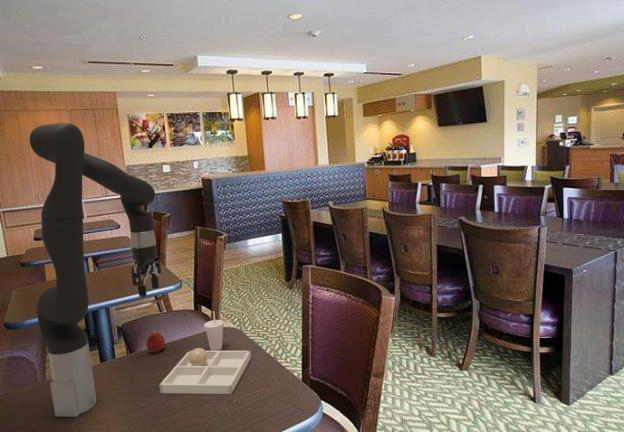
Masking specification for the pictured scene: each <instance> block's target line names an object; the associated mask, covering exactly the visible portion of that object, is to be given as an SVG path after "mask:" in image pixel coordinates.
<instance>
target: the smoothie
mask: <svg viewBox="0 0 624 432" xmlns="http://www.w3.org/2000/svg"><path fill="white" fill-rule="evenodd" d="M215 313H216V312H215V310H213V311H212V316H213V319H212V320H209V321H207V322H205V323H204V324H203V325H204V326H203V328H204V329H205V332H206V336H207V342H208V344H209V349H210V350H209V351H222V349H223V334H224V333H223V332H224V321H223V320H221V319H216V314H215Z"/></svg>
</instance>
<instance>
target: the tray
mask: <svg viewBox="0 0 624 432" xmlns="http://www.w3.org/2000/svg"><path fill="white" fill-rule="evenodd" d="M192 351H193V350H188V352H186V353H185V355H184V356H183V357H182V358H181V359H180V360H179V362H177V363H176V365H175V366H174V367H173V369H172V370H171V371H170V372H169V373H168V375H166V377H164V379H163V380H162V381H161V382H160V383H159V385H158V386H159V393H160V394H193V395H194V394H199V395H201V394H202V395H232V394H233V392H234V391H235V388H236V387H237V385H238V383H239V381H240V379H241V378H242V375H243V373H244V371H246V368H247V367H248V365H249V362H250V361H251V359H252V354H251V350H219V351H211V350H205V351H206V352H207V355H208V358H207V361H206V363H205V364H204V365H203V366H193V365H191V363H190V362H189V355H190V353H191V352H192Z"/></svg>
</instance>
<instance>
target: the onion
mask: <svg viewBox="0 0 624 432" xmlns="http://www.w3.org/2000/svg"><path fill="white" fill-rule="evenodd" d="M165 342H166V341H165V338H164V336H163V335H162V334H161V333H158V331H157V330H153V331H152V332H151V334H150V335H149V336H148V338H147V339H146V342H145V344H146V348H147V350H148V351H149V352H150V353H151V352H152V353H159V352H160V351H161V350H163V348H164V346H165V344H166V343H165Z"/></svg>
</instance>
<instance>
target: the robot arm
mask: <svg viewBox="0 0 624 432" xmlns="http://www.w3.org/2000/svg"><path fill="white" fill-rule="evenodd" d="M29 144H30V148H31V149H32V151H33V152H34V153H35V154H36V155H37V156H38V157H40V158H41V159H43V160H45V161H47V162H51V163H54V168H55V171H54V181H53V182H52V183H53V184H52V187H51V189H50V191H49V192H48V195H47V196H46V198H45V201H44V203H43V206H42V209H41V213H40V214H41V217H40V218H41V220H40V221H41V236H42V237H41V238H42V241H43V245H44V248H45V250H46V253H47V254H48V256H49V258H50V260H51V262H52V265H53V267H54V271H55V280H56V281H55V283H56V286H51V287H49V288H47V289H45V290H43V292H42V293H41V294H40V295H39V297H38V299H37V303H36V315H37V320H38V324H39V326H38V327H39V329H40V330H39V331H40V334H41V335H40V336H41V338H42V340H43V342H44V344H45V345H46V347H47V352H48V359H49V366H50V371H51V372H50V373H51V377H52V378H51V379H52V381H50V383H49V385H50V391H51V396H52V397H51V398H52V403H53V410H54V415H55V417H63V418H64V417H65V418H67V417H68V418H73V417H74V418H77V417H78V416H79V415H82V414H83V413H86V412H87V411H89V410H91V409H93V407H94V406H95V405H96V404H97V396H96V389H95V382H94V376H93V375H94V374H93V369H92V361H91V355H90V354H91V353H90V347H89V339H88V334H87V331H85V329H83V328H81V326H80V325H79V323H80V322H82V321H83V319H84V318H85V317H86V315H87V312H88V311H89V310H88V309H89V291H88V286H87V285H88V284H87V279H86V278H87V277H86V271H85V257H84V256H85V254H84V217H83V216H84V213H83V176H84V177H86V178H87V179H90V180H91V181H94V182H95V183H97V184H98V185H100V186H102V187H104V188H105V189H107V190H109V191H110V192H112V193H113V194H117V195H119V196H120V201H121V204H122V207H123V209H124V212H125V214H126V216H127V218H128V224H129V230H130V231H129V232H130V246H131V255H132V260H133V261H135V262H136V263H137V264H136V266H132V267H131V268H130V269H131V278H132V286H134V287H135V286H137V289H138V290H137V291H138V296H139V298H145V297H146V296H147V288H146V286H147V285H146V281H147V279H148V278H149V276H150V281H151V288H152V289H158V288H159V287H160V283H159V276H160V275H161V274H162V266H161V261H160V260H161V259H160V256H158V251H157V241H156V234H155V231H154V230H155V229H154V224H153V217H152V214H151V213H150V212H147V211H146V210H143V209H142V207H141V206H147V205H150V204H151V203H153V202H154V201H155V199H156V198H155V197H156V192H155V190H154V187H153V186H152V185H151V184H150V183H148V182H147V181H146V180H143V179H141V178H138V177H136V176H134V175H131V174H128V173H127V172H125V171H124V170H123V169H122V168H120V167H118V166H116V165H115V164H113V163H112V162H109V161H107V160H104V159H102V158H100V157H97V156H94V155H91V154H88V153H86V152H85V148H86V147H85V139H84V135H83V132H82V131H81V130H80V128H79V127H78V126H76V125H75V124H73V123H69V122H61V123H60V122H59V123H50V124H43V125H40V126H37V127H35V128H34V129H32V131H31V132H30V135H29Z"/></svg>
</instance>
